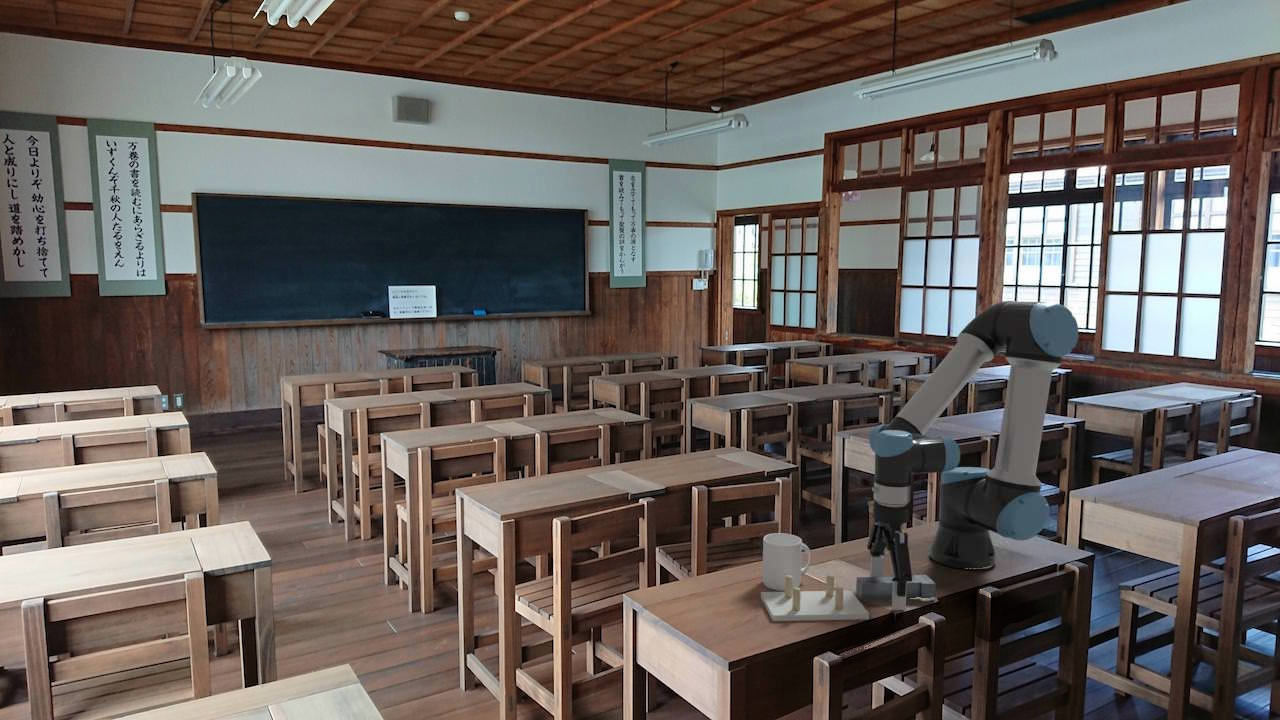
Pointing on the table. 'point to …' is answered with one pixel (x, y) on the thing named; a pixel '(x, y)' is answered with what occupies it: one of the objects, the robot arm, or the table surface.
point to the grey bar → (884, 586)
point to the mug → (783, 560)
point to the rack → (813, 603)
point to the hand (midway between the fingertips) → (886, 596)
